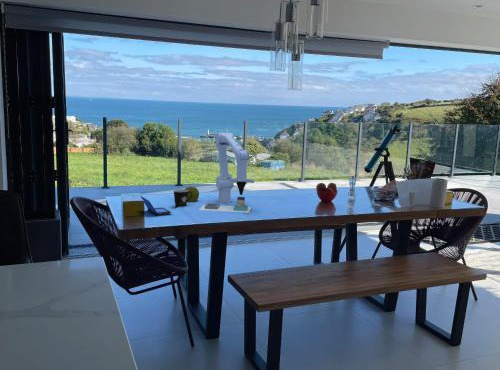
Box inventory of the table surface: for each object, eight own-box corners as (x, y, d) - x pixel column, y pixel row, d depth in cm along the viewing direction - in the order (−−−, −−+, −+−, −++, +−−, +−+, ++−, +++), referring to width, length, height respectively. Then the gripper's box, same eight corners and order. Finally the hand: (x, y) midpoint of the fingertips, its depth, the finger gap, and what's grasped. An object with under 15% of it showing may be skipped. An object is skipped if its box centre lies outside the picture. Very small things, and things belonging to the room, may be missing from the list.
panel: (204, 206, 281) (204, 201, 280) (251, 208, 277) (251, 204, 277) (198, 211, 267) (198, 206, 267) (248, 214, 264) (248, 209, 263)
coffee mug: (174, 209, 272) (174, 192, 270) (172, 205, 280) (172, 189, 278) (194, 208, 275) (194, 191, 273) (192, 205, 283) (192, 189, 281)
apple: (200, 201, 295) (200, 184, 293) (197, 204, 286) (197, 186, 284) (184, 200, 296) (184, 183, 294) (181, 203, 287) (181, 186, 285)
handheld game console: (172, 215, 257) (172, 199, 256) (148, 217, 251) (148, 201, 249) (162, 209, 271) (162, 193, 269) (140, 211, 264) (140, 195, 263)
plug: (237, 208, 273) (238, 196, 272) (244, 208, 272) (244, 197, 271) (236, 209, 269) (237, 198, 268) (243, 210, 269) (243, 198, 267)
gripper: (228, 171, 264) (227, 195, 266) (253, 172, 262) (252, 196, 265) (230, 170, 271) (229, 193, 273) (254, 171, 269) (254, 194, 271)
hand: (241, 194), depth 269 cm, fingers closed
